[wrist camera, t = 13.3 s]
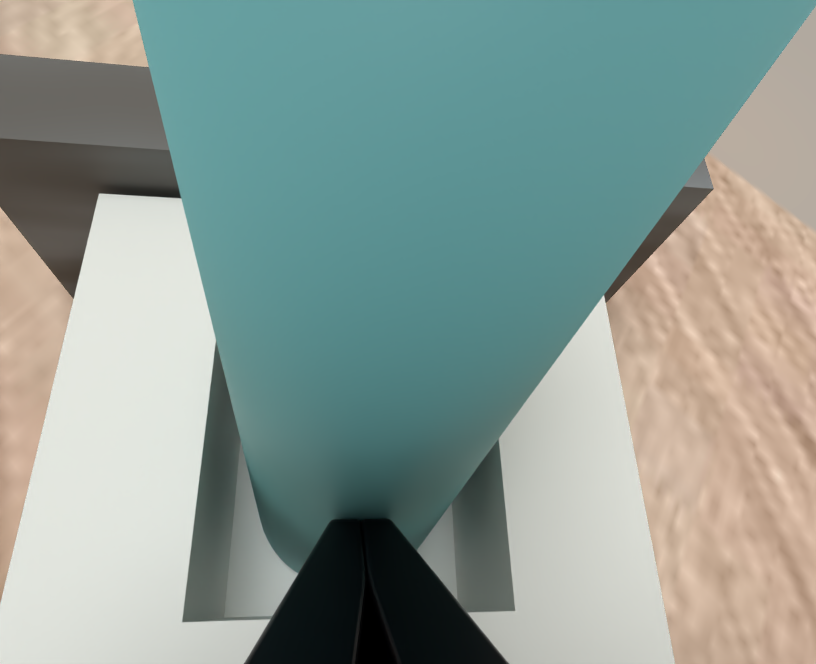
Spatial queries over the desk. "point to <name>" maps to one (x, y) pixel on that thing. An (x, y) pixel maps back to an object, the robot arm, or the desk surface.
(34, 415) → the desk surface
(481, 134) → the dowel
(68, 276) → the rail board
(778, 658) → the desk surface
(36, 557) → the socket block
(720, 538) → the desk surface
